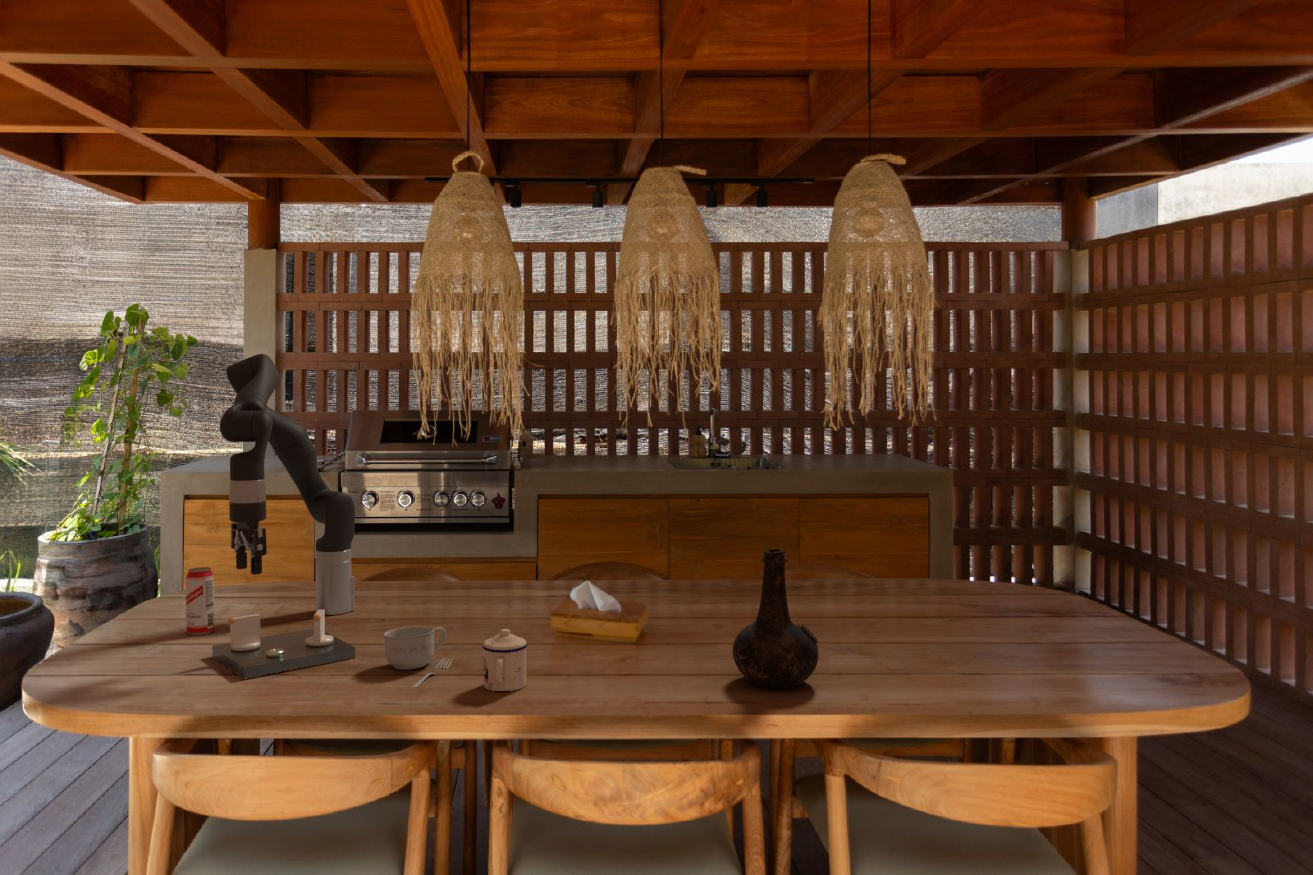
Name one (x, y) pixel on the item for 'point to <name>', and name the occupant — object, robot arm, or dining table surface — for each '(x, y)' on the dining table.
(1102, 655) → the dining table surface
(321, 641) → the knob
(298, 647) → the levelling base
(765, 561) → the glass bottle
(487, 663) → the teacup with lid
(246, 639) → the knob
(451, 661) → the fork
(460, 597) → the dining table surface
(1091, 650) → the dining table surface
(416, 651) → the teacup
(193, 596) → the beer can
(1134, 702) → the dining table surface
